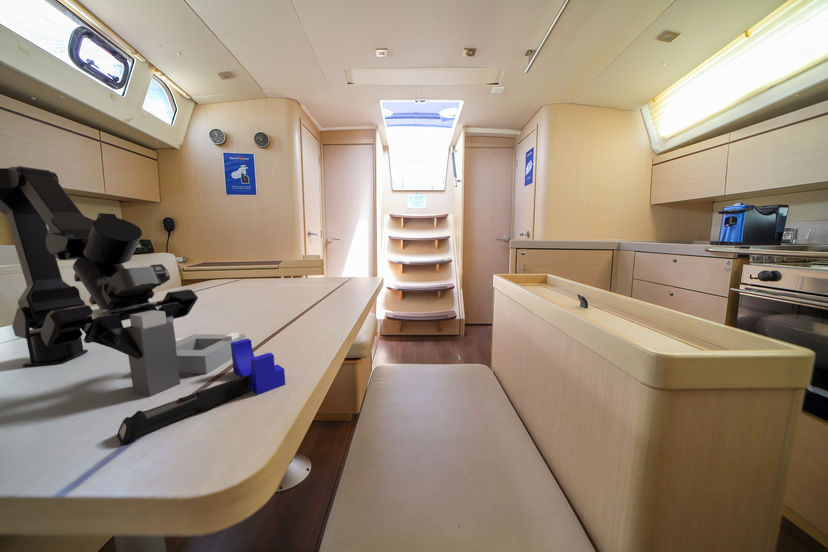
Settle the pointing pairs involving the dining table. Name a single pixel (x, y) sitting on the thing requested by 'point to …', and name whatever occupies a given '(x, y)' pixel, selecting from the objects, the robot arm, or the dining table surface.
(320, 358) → the dining table surface
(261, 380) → the cable clip
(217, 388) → the electric trimmer
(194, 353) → the socket
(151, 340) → the plug
